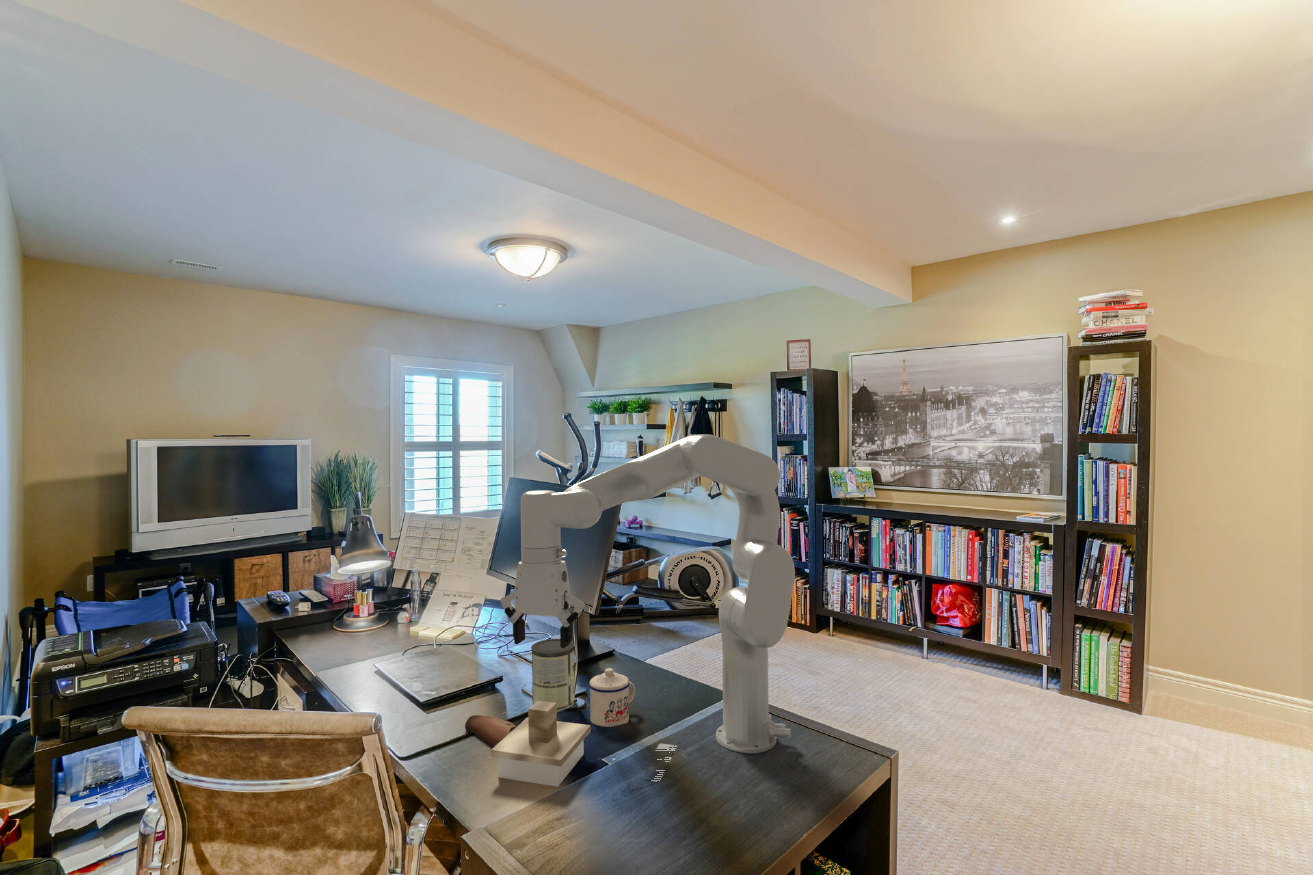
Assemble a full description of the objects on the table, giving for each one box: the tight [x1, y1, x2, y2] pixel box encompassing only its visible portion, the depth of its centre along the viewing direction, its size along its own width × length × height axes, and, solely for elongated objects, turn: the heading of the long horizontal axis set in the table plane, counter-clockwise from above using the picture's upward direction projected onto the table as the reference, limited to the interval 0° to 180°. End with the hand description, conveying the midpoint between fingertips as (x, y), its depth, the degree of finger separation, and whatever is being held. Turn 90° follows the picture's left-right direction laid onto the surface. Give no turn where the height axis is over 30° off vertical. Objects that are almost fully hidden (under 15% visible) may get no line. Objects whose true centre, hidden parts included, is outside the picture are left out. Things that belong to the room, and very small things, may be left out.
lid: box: [490, 701, 592, 767], centre depth 120 cm, size 14×14×7 cm
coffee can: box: [530, 638, 576, 713], centre depth 150 cm, size 10×10×14 cm
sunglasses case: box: [464, 714, 517, 749], centre depth 132 cm, size 18×7×7 cm, turn 44°
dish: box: [497, 739, 585, 788], centre depth 120 cm, size 12×12×5 cm
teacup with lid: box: [588, 667, 636, 728], centre depth 141 cm, size 12×9×12 cm
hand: (542, 643), depth 120 cm, fingers open, 9 cm apart
